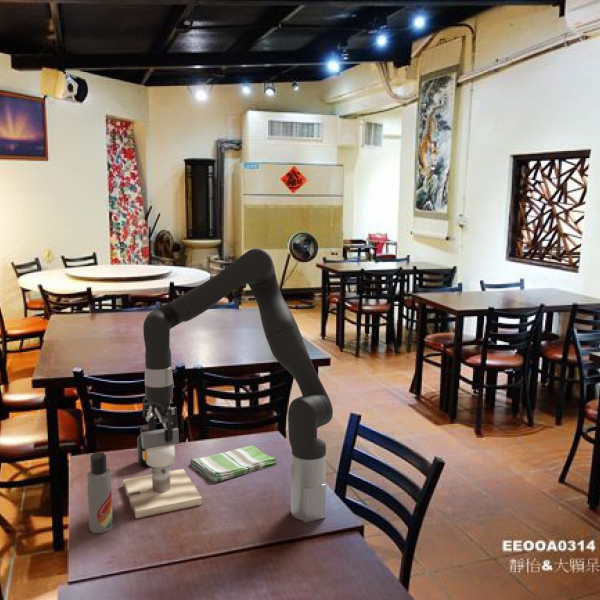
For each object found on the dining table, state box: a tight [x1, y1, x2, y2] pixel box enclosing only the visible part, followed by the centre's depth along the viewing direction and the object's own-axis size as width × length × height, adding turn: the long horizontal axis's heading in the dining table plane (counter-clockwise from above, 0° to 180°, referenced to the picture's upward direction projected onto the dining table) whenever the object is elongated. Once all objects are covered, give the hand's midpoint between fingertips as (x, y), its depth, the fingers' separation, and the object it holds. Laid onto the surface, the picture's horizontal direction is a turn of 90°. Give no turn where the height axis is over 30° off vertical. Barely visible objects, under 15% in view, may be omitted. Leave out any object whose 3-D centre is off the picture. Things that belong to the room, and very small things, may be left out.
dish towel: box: [189, 445, 277, 484], centre depth 190 cm, size 17×23×4 cm
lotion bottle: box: [86, 451, 113, 534], centre depth 151 cm, size 6×6×20 cm
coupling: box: [140, 427, 180, 468], centre depth 167 cm, size 10×8×9 cm
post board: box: [122, 465, 203, 519], centre depth 169 cm, size 20×18×10 cm
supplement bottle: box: [136, 424, 151, 468], centre depth 190 cm, size 7×7×12 cm
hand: (160, 437), depth 167 cm, fingers open, 8 cm apart
